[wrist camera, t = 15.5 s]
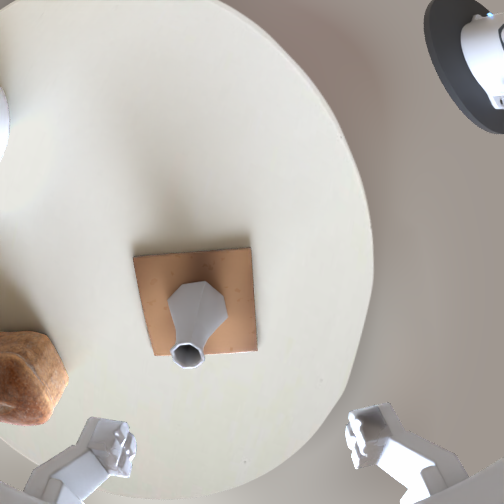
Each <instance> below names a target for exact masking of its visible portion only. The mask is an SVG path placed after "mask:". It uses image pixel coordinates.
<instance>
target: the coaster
mask: <svg viewBox="0 0 504 504" xmlns="http://www.w3.org/2000/svg"><path fill="white" fill-rule="evenodd" d="M133 262H134V268H135V273H136V278H137V283H138V288H139V293H140V298H141V302H142V307H143V311H144V316H145V320H146V324H147V328H148V333H149V337H150V340H151V344H152V348H153V352H154V355H155V356H172V355H171V353H170V349H171V348H172V347H173V346H174V345H175V343H176V329H175V325H174V322H173V319H172V315H171V312H170V309H169V305H168V301H167V300H168V299H169V298H170V297H171V295H172V294H173V293H174V292H175V291H176V290H177V289H178V288H179V287H180V286H181V285H182V284H188V283H195V282H201V281H206V282H207V283H209V284H210V285H211V286H212V287H213V288H214V289H216V290H217V291H218V292H219V293H220V294H222V295H223V296H224V300H225V305H226V310H227V314H228V318H227V319H226V320H225V321H224V322H223V323H222V324H221V325H220V326H219V327H218V328H217V329H216V330H215V331H214V333H213V334H212V335H211V336H210V337H209V338H208V340H207V342H206V344H205V346H204V348H203V353H204V355H205V354H224V353H239V352H252V351H258V349H257V334H256V318H255V303H254V288H253V272H252V257H251V248H237V249H224V250H210V251H197V252H184V253H172V254H159V255H146V256H134V257H133Z"/></svg>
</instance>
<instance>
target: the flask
mask: <svg viewBox="0 0 504 504" xmlns="http://www.w3.org/2000/svg"><path fill="white" fill-rule="evenodd" d="M167 301H168V305H169V309H170V312H171V315H172V319H173V322H174V325H175V329H176V343H175V345H174V346H173V347H172V348H171V349H170V353H171V355H172V358H173V361H174V362H175V363H177V364H178V365H179V366H181V367H182V368H184V369H186V368H196V367H198V366H199V365H200V364H201V363H202V362H203V361H205V356H204V353H203V348H204V346H205V344H206V342H207V340H208V338H209V337H210V336H211V335H212V334H213V333H214V331H215V330H216V329H217V328H218V327H219V326H220V325H221V324H222V323H223V322H224V321H225V320H226V319H227V318H228V314H227V310H226V305H225V300H224V296H223V295H222V294H220V293H219V292H218V291H217V290H216V289H214V288H213V287H212V286H211V285H210V284H209V283H207V282H206V281H201V282H195V283H188V284H182V285H181V286H180V287H179V288H178V289H177V290H176V291H175V292H174V293H173V294H172V295H171V297H170V298H169V299H168V300H167Z"/></svg>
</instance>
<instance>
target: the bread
mask: <svg viewBox="0 0 504 504" xmlns="http://www.w3.org/2000/svg"><path fill="white" fill-rule="evenodd" d="M68 380H69V377H68V375H67V372H66V370H65V368H64V365H63V363H62V361H61V359H60V357H59V355H58V353H57V351H56V349H55V347H54V346H53V344H52V342H51V341H50V339H49V338H48V337H47V335H44V334H41V333H38V332H34V331H18V332H0V422H5V423H9V424H14V425H21V426H33V425H40V424H44V423H45V422H46V421H48V419H49V418H50V417H51V416H52V412H53V409H54V407H55V406H56V405H57V403H58V401H59V399H60V398H61V396H62V393H63V391H64V389H65V387H66V386H67V385H68Z"/></svg>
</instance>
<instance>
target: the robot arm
mask: <svg viewBox="0 0 504 504" xmlns="http://www.w3.org/2000/svg"><path fill="white" fill-rule="evenodd" d="M461 46H462V51H463V54H464V57H465V60H466V62H467V64H468V67H469V69H470V70H471V72H472V74H473V76H474V77H475V79H476V80H477V82H478V83H479V84H480V85H481V87H482V88H483V89H484V90H485V91H486V93H487V95H488V97H489V99H490V101H491V103H492V105H493V107H494V108H495V109H504V13H498V14H494V15H492V14H491V13H488V16H486V17H482V16H481V15H479V14H477V15H474V16H473V18H472V21H471V22H470V23H468V24H466V25H465V26H464V27H463V28H462V31H461ZM348 419H349V421H350V422H349V423H348V424H347V425H346V430H345V434H346V441H347V445H348V447H349V448H351V449H352V450H353V451H352V455H351V457H352V459H353V462H354V465H355V468H356V469H358V468H362V467H366V466H371V465H375V464H377V465H378V466H379V467H380V468H382V469H383V470H384V471H386V472H387V473H388V474H390V475H391V476H392V477H394V478H395V479H396V480H398V481H399V482H400V483H402V484H403V485H404V486H406V487H407V488H408V490H407V492H406V493H405V495H404V496H403V497H402V499H401V500H400V503H401V504H504V457H503V458H501V459H499V460H498V461H496V462H495V463H493V464H492V465H490V466H488V467H486V468H485V469H483V470H481V471H480V472H478V473H476V474H474V475H473V476H471V477H469V476H468V474H467V473H466V471H465V469H464V467H463V466H462V464H461V462H460V461H459V459H458V457H457V456H456V454H455V453H453V452H450V451H448V450H446V449H444V448H442V447H440V446H438V445H436V444H434V443H432V442H430V441H428V440H426V439H424V438H422V437H420V436H419V435H417V434H415V433H413V432H411V431H405V429H404V427H403V425H402V424H401V422H400V420H399V418H398V416H397V415H396V413H395V411H394V409H393V407H392V405H391V404H390V403H389V402H387V403H383V404H378V405H373V406H369V407H365V408H361V409H357V410H352V411H350V412H349V415H348ZM129 428H130V427H129V426H128V424H127V422H123V421H116V420H109V419H103V418H97V417H90V418H89V419H88V420H87V422H86V424H85V426H84V428H83V430H82V433H81V435H80V437H79V439H78V441H77V443H76V445H71V446H70V447H68V448H67V449H65V450H64V451H62V452H61V453H59V454H58V455H56V456H54V457H53V458H51V459H50V460H48V461H46V462H45V463H43V464H42V465H40V466H38V467H37V468H35V469H34V470H33V471H32V473H31V476H30V478H29V480H28V482H27V484H26V486H25V488H24V490H23V492H22V491H20V490H18V489H16V488H14V487H12V486H10V485H8V484H6V483H4V482H2V481H0V504H84V503H83V502H82V501H83V500H84V499H85V498H86V497H88V496H89V495H90V494H91V493H92V492H93V491H94V490H95V489H96V488H97V487H98V486H99V485H101V484H102V483H103V482H104V481H105V480H106V479H107V478H108V477H109V476H110V475H114V476H121V477H128V478H129V476H130V472H131V469H132V463H131V461H130V460H131V459H132V458H133V457H135V454H136V450H137V443H136V439H135V437H134V435H133V434H132V433H130V432H129Z"/></svg>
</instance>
